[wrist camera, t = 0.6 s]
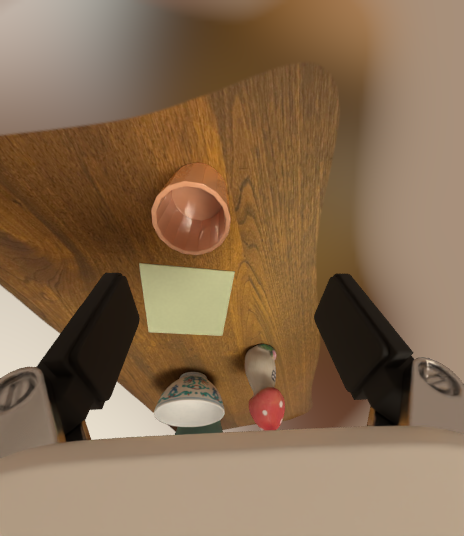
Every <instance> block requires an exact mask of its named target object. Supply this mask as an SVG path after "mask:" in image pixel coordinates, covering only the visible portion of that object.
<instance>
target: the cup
mask: <svg viewBox="0 0 464 536" xmlns="http://www.w3.org/2000/svg"><path fill="white" fill-rule="evenodd" d="M151 213H152V224H153V227H154V228H155V230H156V232H157V234H158V236H159V238H160V239H161V240H162V241H163V242H165V243H166V244H167V245H168V246H169V247H170V248H172V249H174V250H176V251H179V252H181V253H184V254H193V255H199V254H204V253H208V252H211V251H213V250H214V249H215V248H217V247H218V246H220V245H221V244H222V243H223V241H224V240H225V238H226V237H227V235H228V234H229V228H230V222H231V217H230V207H229V197H228V191H227V187H226V183H225V181H224V179H223V178H222V176H221V175H220V174H219V172H217V171H216V170H215V169H214V168H212V167H211V166H209V165H206V164H203V163H190V164H187V165H184V166H182V167H181V168H180V169H178V170H177V171H176V172H175V173H174V174H173V175H172V177H171V178H170V179H169V181H168V182H167V183H166V185H165V186H164V187H163V188H162V190H161V191H160V192H159V194H158V195H157V196H156V199H155V201H154V204H153V207H152V209H151Z"/></svg>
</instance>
